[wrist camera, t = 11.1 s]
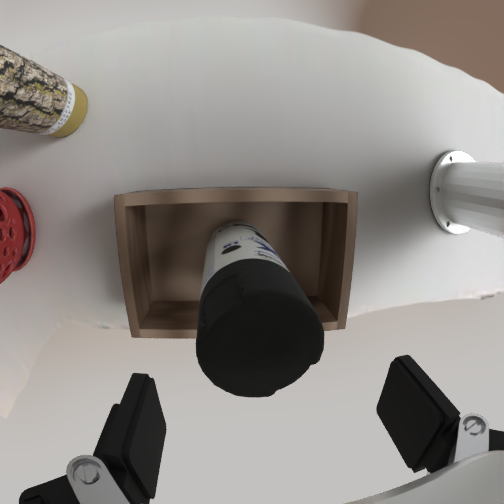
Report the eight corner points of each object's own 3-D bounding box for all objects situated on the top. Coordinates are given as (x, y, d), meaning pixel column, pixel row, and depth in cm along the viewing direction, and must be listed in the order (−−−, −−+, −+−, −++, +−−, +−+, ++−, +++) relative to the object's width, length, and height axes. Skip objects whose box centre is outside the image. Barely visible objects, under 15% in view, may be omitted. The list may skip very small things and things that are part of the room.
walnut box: (328, 188, 33) (357, 192, 25) (321, 299, 36) (345, 328, 29) (138, 191, 31) (113, 195, 23) (148, 305, 34) (131, 337, 27)
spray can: (278, 251, 33) (352, 346, 14) (233, 289, 34) (254, 417, 15) (239, 207, 31) (274, 257, 12) (193, 248, 32) (164, 349, 13)
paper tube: (96, 87, 27) (-44, 4, 3) (82, 140, 28) (-88, 115, 4) (55, 87, 26) (-83, 32, 2) (41, 136, 27) (-114, 123, 3)
